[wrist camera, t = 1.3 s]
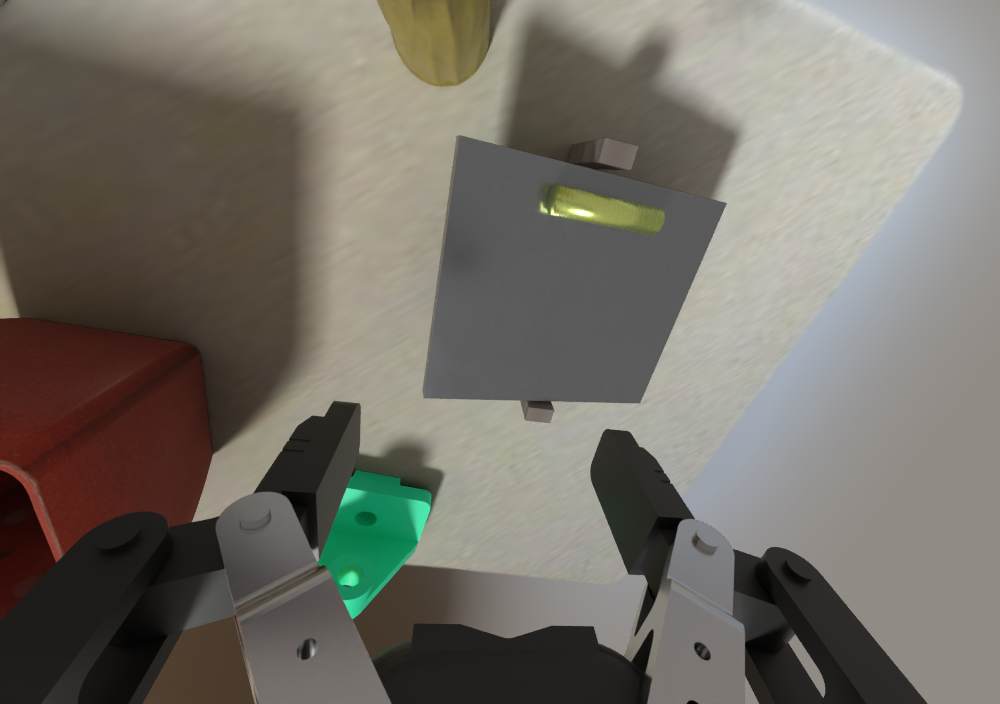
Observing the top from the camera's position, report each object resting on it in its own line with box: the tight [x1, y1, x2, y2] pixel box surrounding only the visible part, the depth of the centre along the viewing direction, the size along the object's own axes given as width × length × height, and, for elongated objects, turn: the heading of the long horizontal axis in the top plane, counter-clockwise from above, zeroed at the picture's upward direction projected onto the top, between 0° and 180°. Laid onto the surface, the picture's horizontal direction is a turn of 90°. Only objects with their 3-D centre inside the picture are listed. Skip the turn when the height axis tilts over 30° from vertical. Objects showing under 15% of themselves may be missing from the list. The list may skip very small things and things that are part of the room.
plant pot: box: [0, 318, 213, 620], centre depth 25 cm, size 19×19×17 cm
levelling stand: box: [520, 138, 639, 423], centre depth 28 cm, size 14×19×7 cm
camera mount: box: [317, 470, 432, 619], centre depth 36 cm, size 12×8×10 cm, turn 70°
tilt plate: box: [423, 135, 727, 403], centre depth 25 cm, size 18×16×3 cm
